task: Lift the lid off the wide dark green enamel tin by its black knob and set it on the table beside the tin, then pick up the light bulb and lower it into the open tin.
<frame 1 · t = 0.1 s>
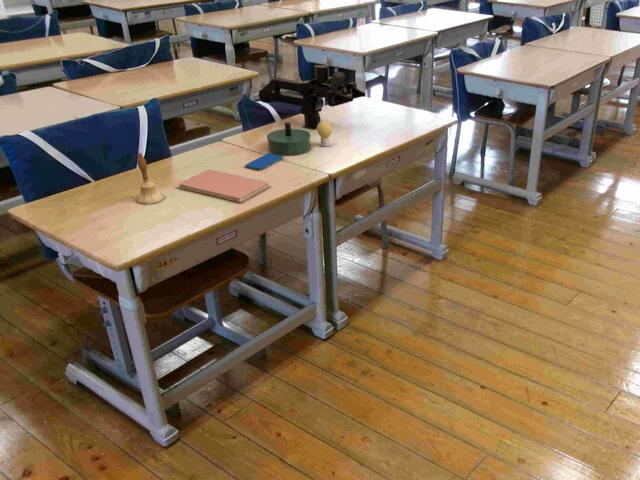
hand: (359, 97, 264), 17 cm above the table, tool horizontal, fingers open, 9 cm apart
light bulb: (325, 146, 262), on the table
tin lid: (288, 136, 255), point 5 cm above the table, touching tin
smartphone: (264, 163, 243), on the table
notebook: (225, 187, 223), on the table
hand bell: (150, 199, 213), on the table
tin: (289, 148, 258), on the table
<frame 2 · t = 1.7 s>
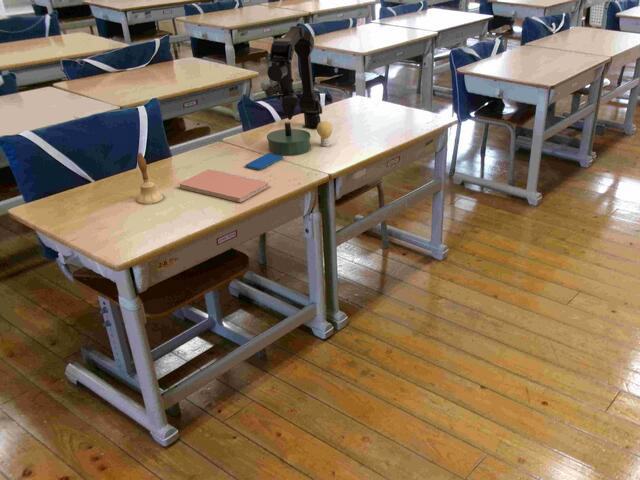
hand: (287, 116, 250), 13 cm above the table, tool pointing down, fingers open, 9 cm apart
nothing on the table moved.
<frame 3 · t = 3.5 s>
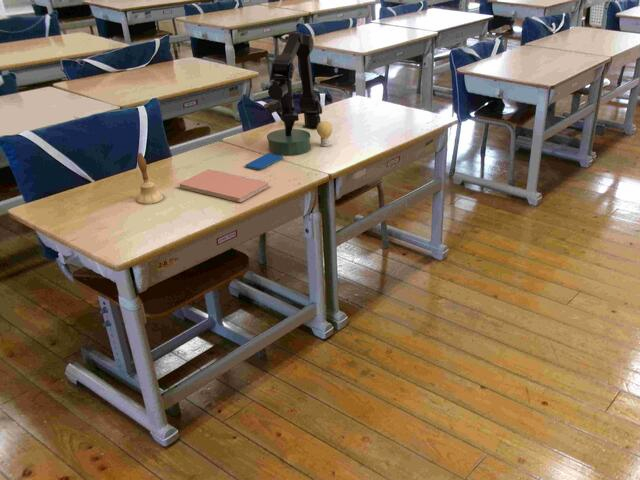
hand: (288, 132, 254), 7 cm above the table, tool pointing down, fingers closed on tin lid, 2 cm apart
tin lid: (288, 136, 255), point 5 cm above the table, touching gripper, tin
everything else where it was.
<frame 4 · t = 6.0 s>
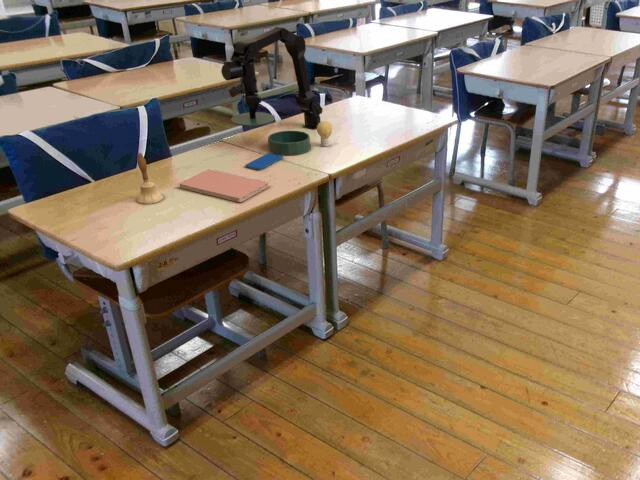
hand: (252, 115, 256), 12 cm above the table, tool pointing down, fingers closed on tin lid, 2 cm apart
tin lid: (253, 119, 257), point 10 cm above the table, touching gripper
everything else where it was.
when the fingers open (2 cm above the table, at t = 8.4 s): tin lid stays where it is, point 1 cm above the table.
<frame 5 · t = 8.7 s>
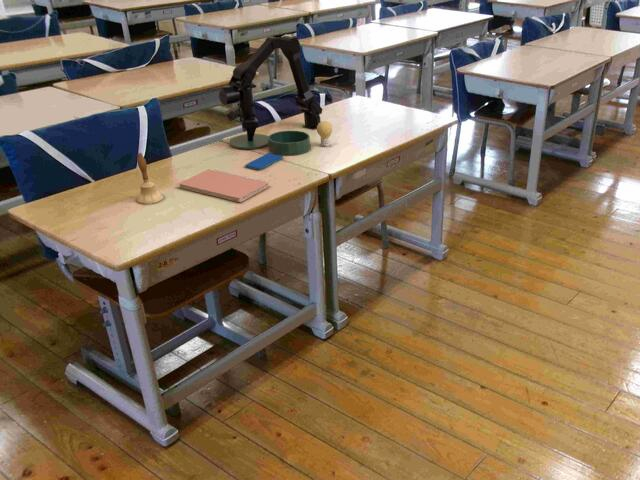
hand: (250, 138, 262), 2 cm above the table, tool pointing down, fingers open, 5 cm apart
tin lid: (250, 141, 262), point 1 cm above the table
everything else where it was.
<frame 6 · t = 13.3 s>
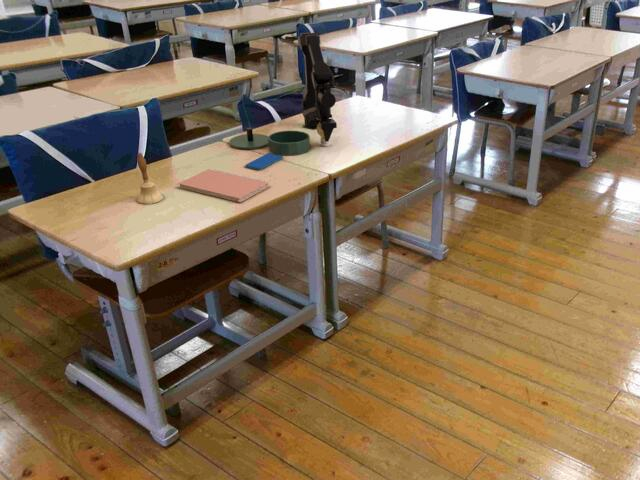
hand: (325, 139, 260), 3 cm above the table, tool pointing down, fingers closed on light bulb, 6 cm apart
light bulb: (325, 146, 262), on the table, touching gripper
everything else where it was.
when the fingers open (3 cm above the table, at t = 18.7 s): light bulb stays where it is, resting on tin.
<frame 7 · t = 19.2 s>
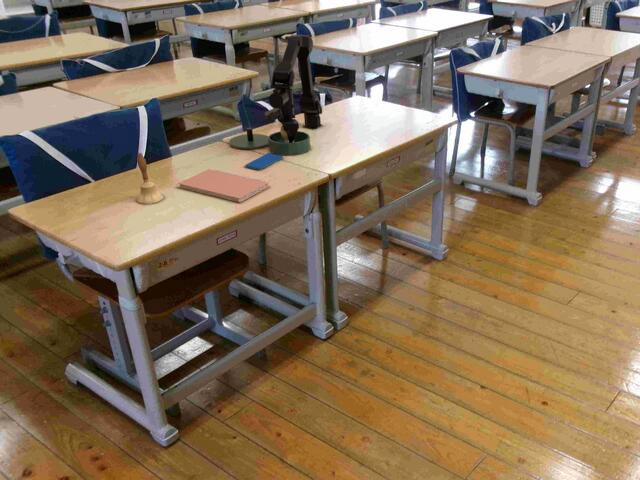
hand: (289, 140, 256), 4 cm above the table, tool pointing down, fingers open, 9 cm apart
light bulb: (289, 148, 257), resting on tin
everything else where it was.
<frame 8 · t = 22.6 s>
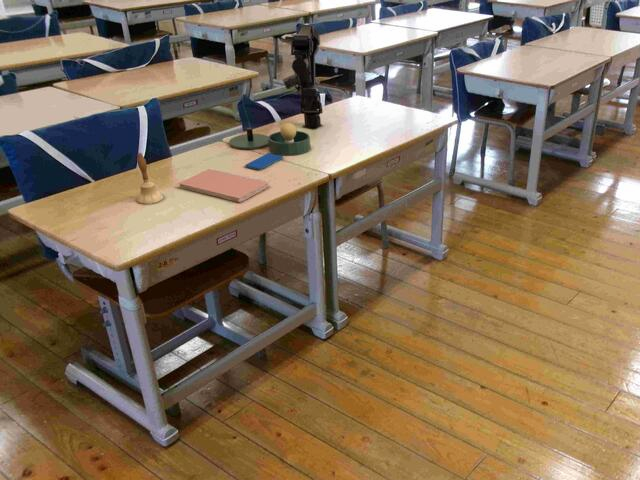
hand: (305, 107, 262), 13 cm above the table, tool pointing down, fingers open, 9 cm apart
nothing on the table moved.
at the end: tin lid inside the target area (0.0 cm from its centre), point 0.6 cm above the table; tin lid tilted 0°; light bulb inside the target area in the tin (0.1 cm from its centre), point 0.3 cm above the tin's base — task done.
